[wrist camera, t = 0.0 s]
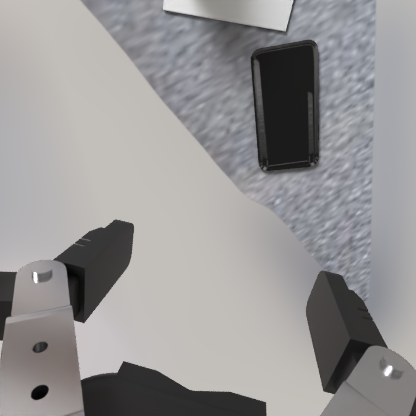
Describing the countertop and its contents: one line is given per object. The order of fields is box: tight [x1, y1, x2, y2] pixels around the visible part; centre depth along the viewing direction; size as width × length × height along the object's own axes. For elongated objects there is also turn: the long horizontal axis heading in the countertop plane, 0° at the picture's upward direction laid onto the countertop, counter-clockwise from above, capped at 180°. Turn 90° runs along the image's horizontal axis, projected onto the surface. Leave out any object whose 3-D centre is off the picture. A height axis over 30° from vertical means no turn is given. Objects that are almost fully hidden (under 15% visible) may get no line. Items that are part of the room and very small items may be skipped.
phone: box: [251, 40, 319, 171], centre depth 36 cm, size 8×1×15 cm
